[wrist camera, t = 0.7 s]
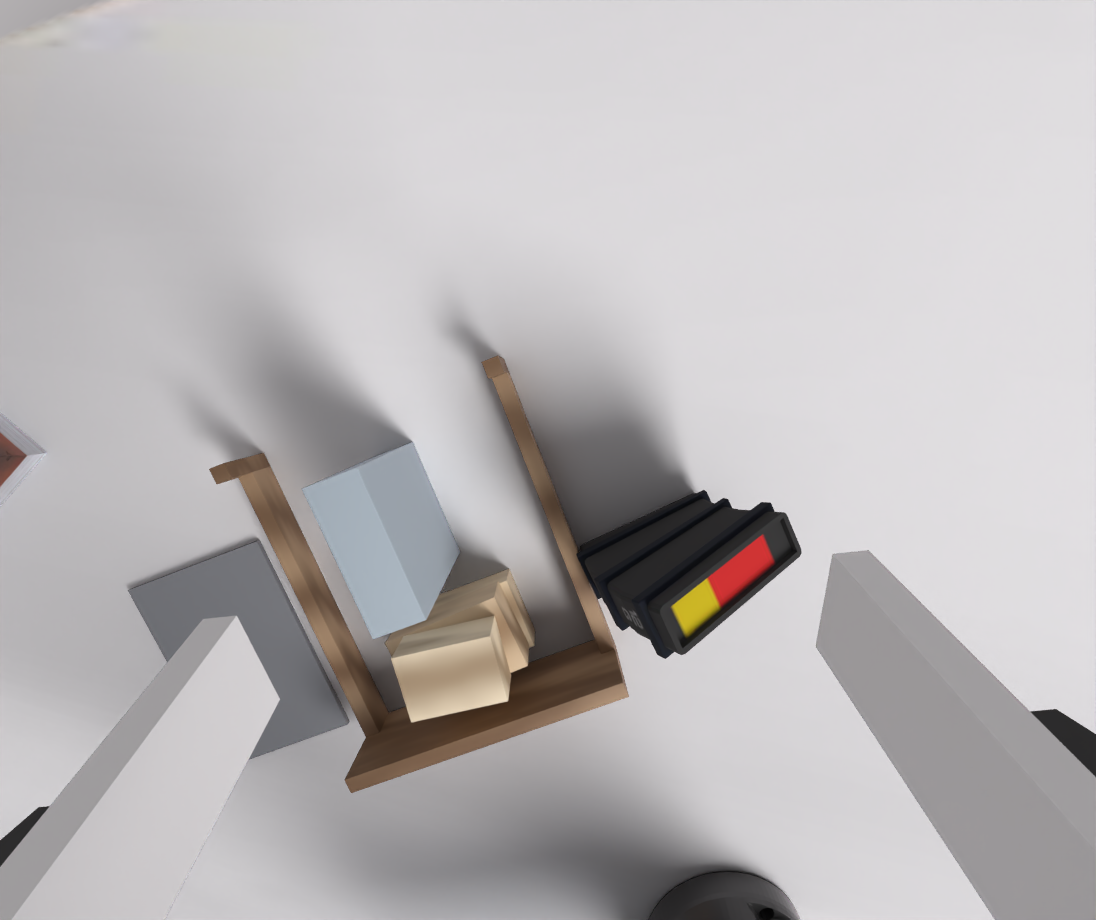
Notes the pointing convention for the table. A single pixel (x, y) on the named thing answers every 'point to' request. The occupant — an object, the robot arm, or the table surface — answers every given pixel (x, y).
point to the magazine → (687, 567)
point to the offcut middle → (473, 608)
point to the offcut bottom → (510, 593)
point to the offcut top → (452, 669)
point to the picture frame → (15, 457)
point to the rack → (410, 746)
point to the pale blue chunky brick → (386, 537)
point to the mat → (270, 625)
